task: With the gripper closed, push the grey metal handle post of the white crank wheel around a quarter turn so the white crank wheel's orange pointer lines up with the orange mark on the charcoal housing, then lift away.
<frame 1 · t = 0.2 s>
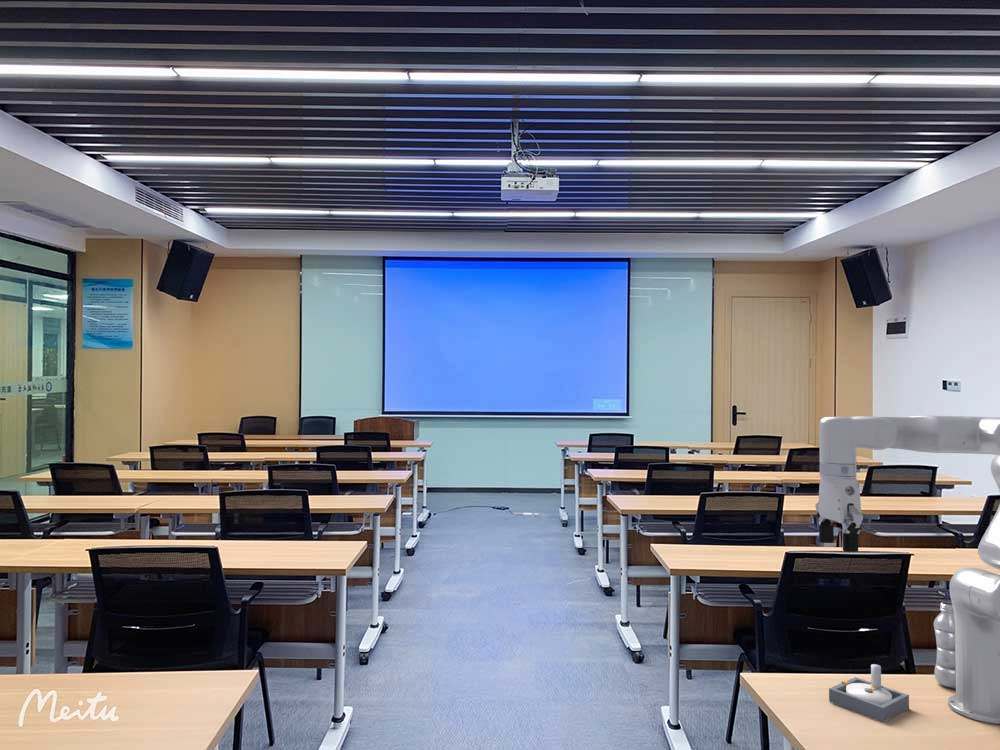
hand: (838, 546, 153), 36 cm above the table, tool pointing down, fingers open, 9 cm apart
housing: (868, 705, 154), on the table
white crank wheel: (868, 684, 154), point 5 cm above the table, hinge at 0.0°
plastic bottle: (950, 687, 165), on the table
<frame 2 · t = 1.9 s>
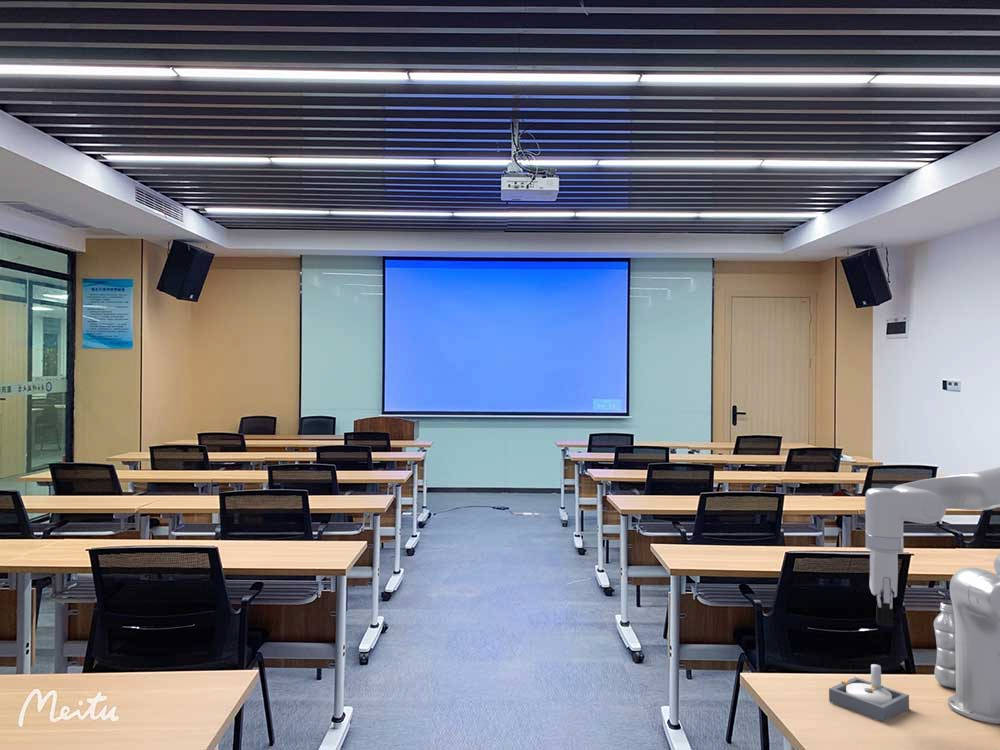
hand: (884, 624, 153), 19 cm above the table, tool pointing down, fingers closed
nothing on the table moved.
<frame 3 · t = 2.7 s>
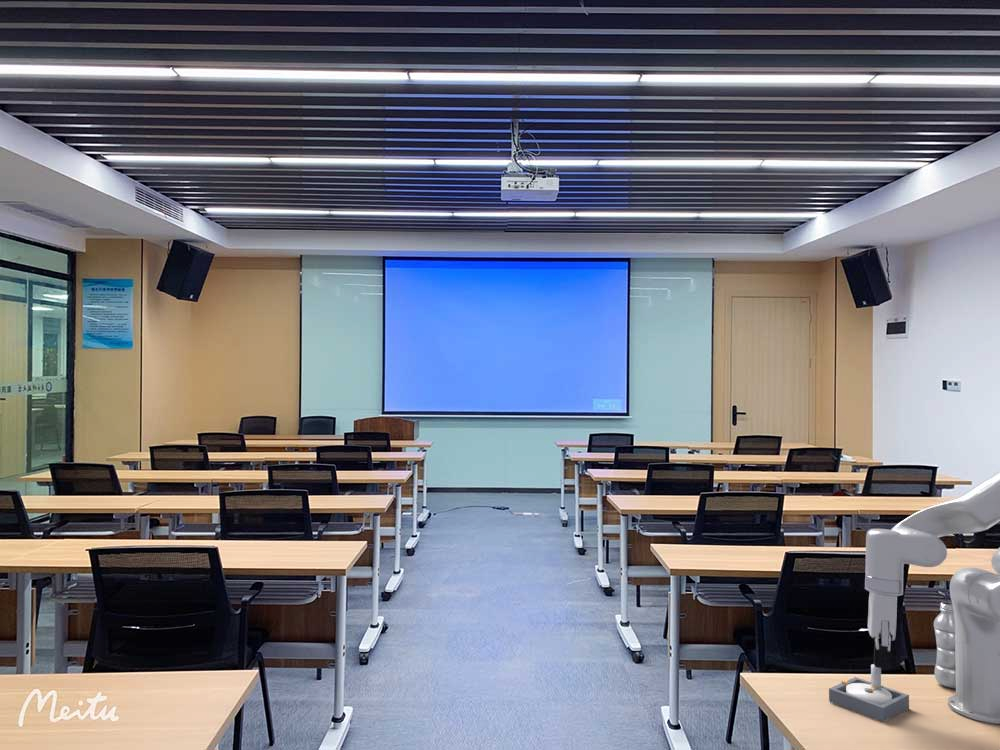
hand: (882, 666, 152), 9 cm above the table, tool pointing down, fingers closed
nothing on the table moved.
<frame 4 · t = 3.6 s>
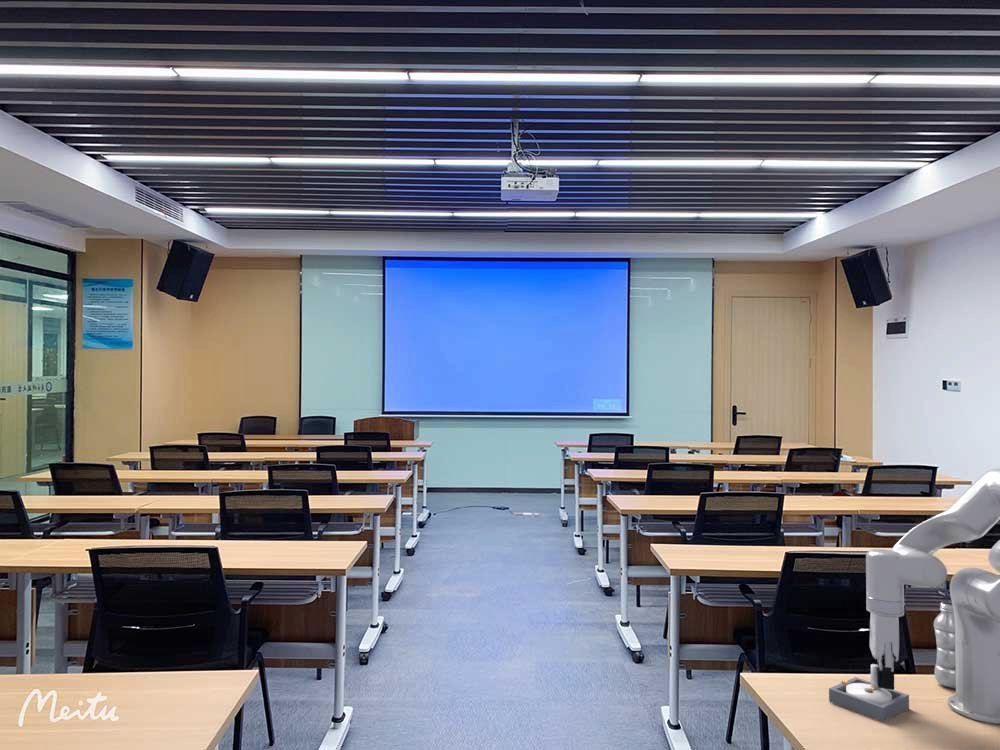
hand: (885, 687, 153), 5 cm above the table, tool pointing down, fingers closed
white crank wheel: (868, 684, 154), point 5 cm above the table, hinge at 1.1°, touching gripper
everything else where it was.
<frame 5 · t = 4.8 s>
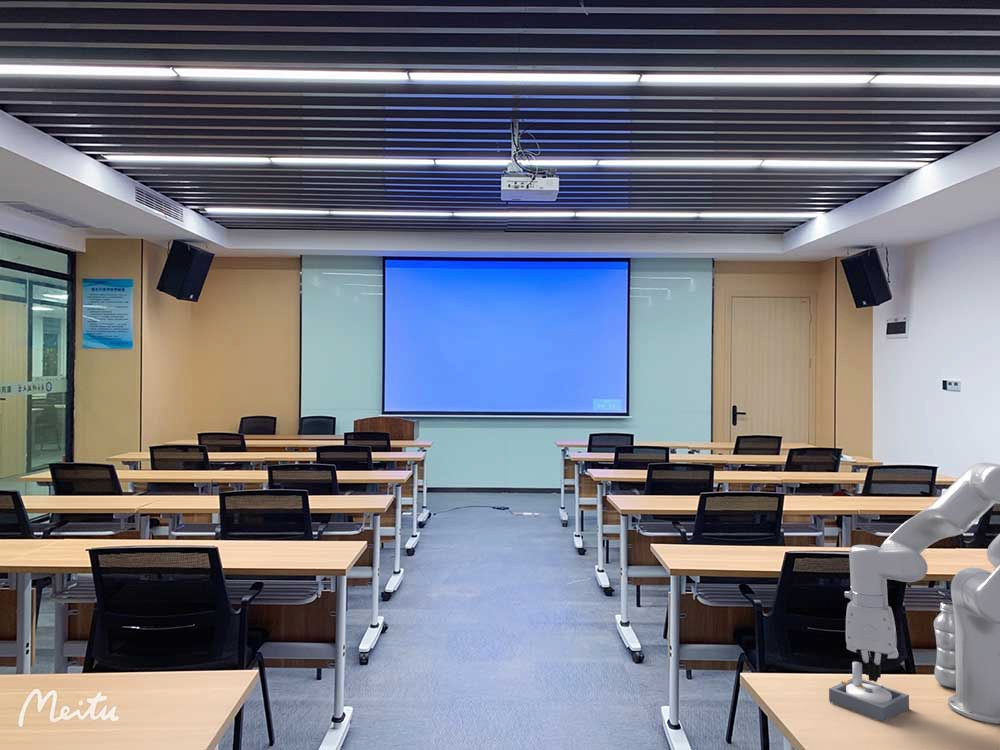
hand: (873, 679, 157), 5 cm above the table, tool pointing down, fingers closed
white crank wheel: (868, 684, 154), point 5 cm above the table, hinge at 67.0°, touching gripper
everything else where it was.
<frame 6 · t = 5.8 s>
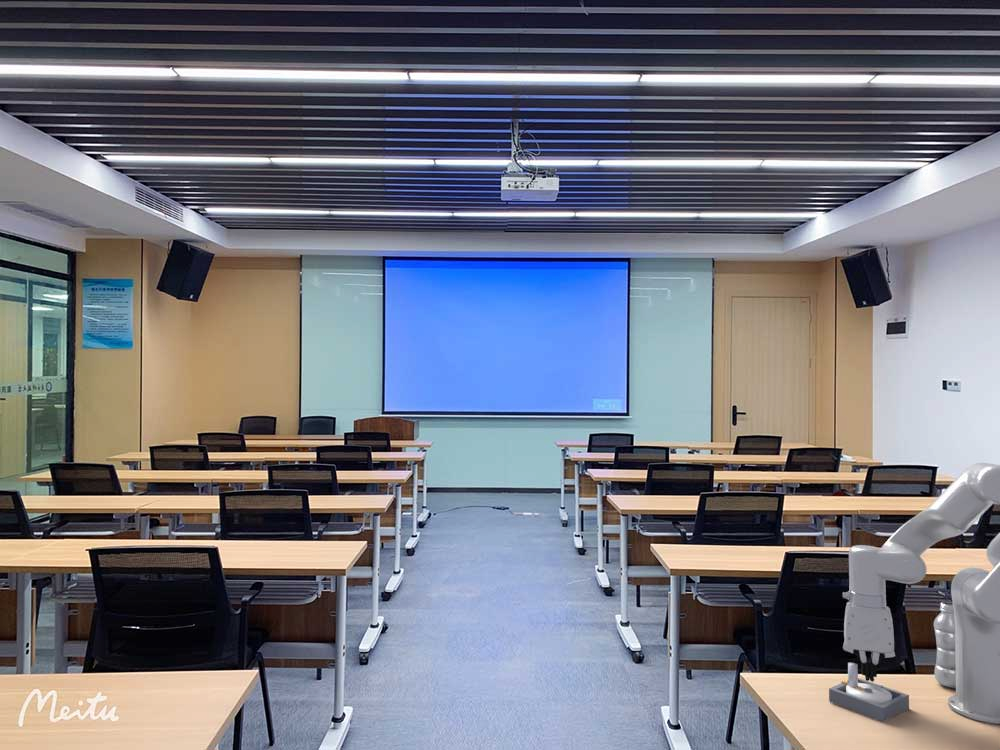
hand: (869, 678, 158), 4 cm above the table, tool pointing down, fingers closed
white crank wheel: (868, 684, 154), point 5 cm above the table, hinge at 91.0°
everything else where it was.
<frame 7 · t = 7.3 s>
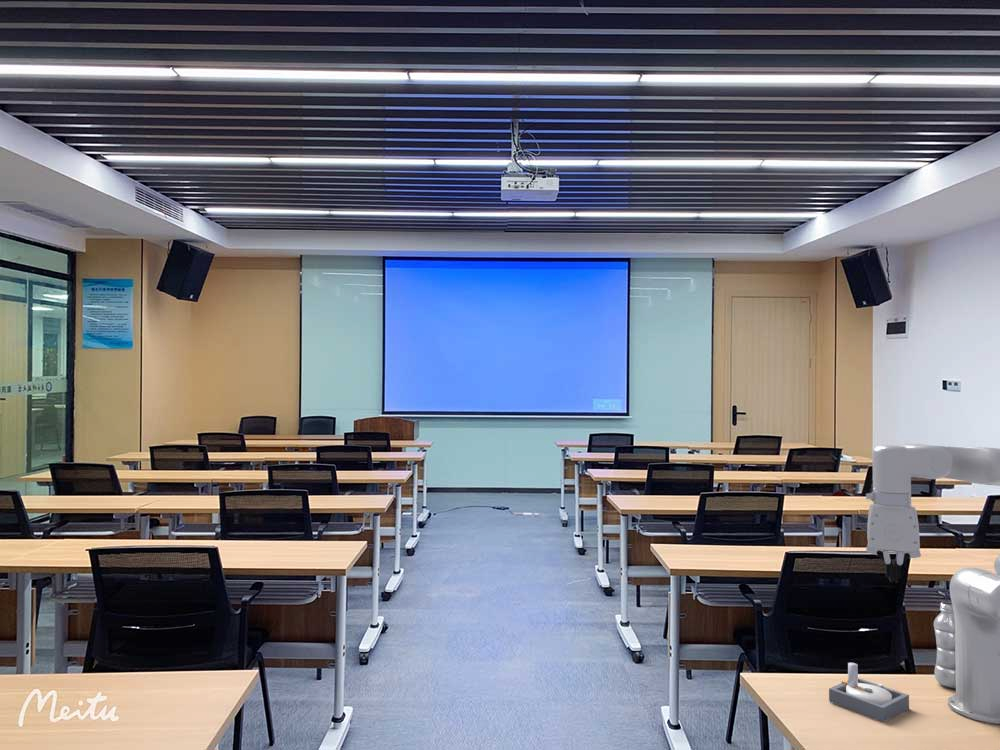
hand: (893, 581, 153), 29 cm above the table, tool pointing down, fingers closed
nothing on the table moved.
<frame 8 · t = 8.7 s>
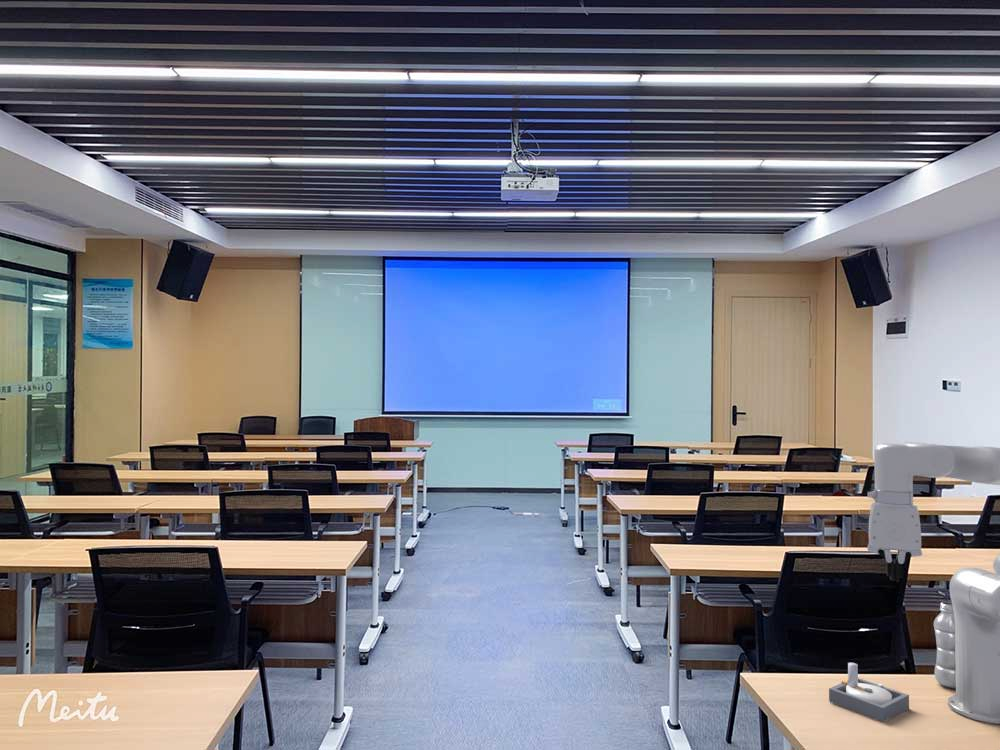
hand: (894, 579, 152), 29 cm above the table, tool pointing down, fingers closed
nothing on the table moved.
at the end: white crank wheel at +91° (first picture: +0°); white crank wheel touching nothing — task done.
